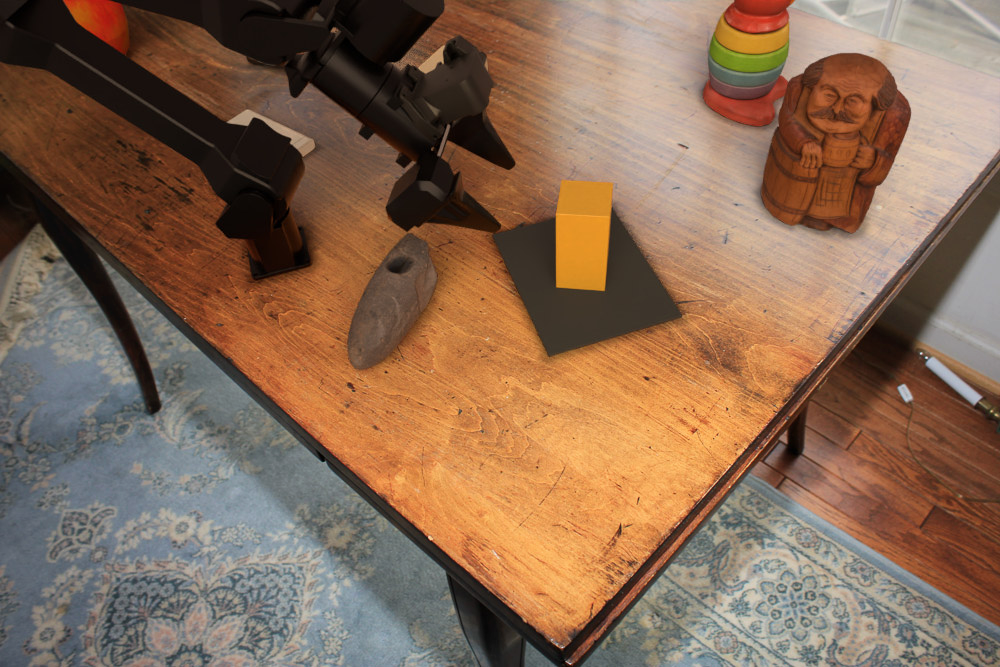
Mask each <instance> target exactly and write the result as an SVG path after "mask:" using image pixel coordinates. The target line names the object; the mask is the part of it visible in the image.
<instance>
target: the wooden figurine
mask: <svg viewBox="0 0 1000 667" xmlns="http://www.w3.org/2000/svg"><path fill="white" fill-rule="evenodd" d="M911 118H912V107H911V104H910V103H909V100H908V99H907V97H906V96H905V95H904V94H903V93H902V92H901V91H900V90H899V89H898V85H897V82H896V79H895V76H894V75H893V74H892V71H890V70H889V69H888V67H887V66H886V65H885V64H884V63H882V61H880V60H879V59H877V58H875V57H873V56H870V55H867V54H864V53H860V52H839V53H838V52H837V53H834V54H831V55H826V56H825V57H822V58H819V59H817V60H816V61H814V62H812V63H810V64H808V65H807V66H806V68H805V69H804V71H803V72H801V73H799V74H797V75H795V76H792V77H791V78H790V79H789V81H788V85H787V88H786V92H785V96H783V100H782V103H781V106H780V108H779V111H778V115H777V123H778V126H777V127H776V128H775V130H774V131H773V134H772V137H771V141H770V144H769V149H768V153H767V156H766V160H765V161H766V162H765V165H764V169H763V173H762V174H763V176H762V182H761V188H760V195H761V198H762V202H763V204H764V207H765V209H766V210H768V212H769V213H770V214H771V216H773V217H774V218H776V219H777V220H779V221H781V222H782V223H785V224H786V225H789V226H797V225H802V226H805V227H807V228H809V229H816V230H819V231H823V232H827V231H830V230H831V229H833V228H838V229H841V230H842V231H845V232H847V233H850V234H854V233H855V232H856V231H858V230H859V229H860V227H861V226H862V225H863V223H864V222H865V218H866V215H867V213H868V211H869V209H870V207H871V205H872V203H873V199H874V196H875V192H876V190H877V187H878V186H881V185H882V184H883V183H884V182H885V181H886V179H887V177H888V175H889V174H890V171H891V169H892V167H893V165H894V163H895V161H896V157H897V155H898V153H899V150H900V149H901V147H902V143H903V141H904V139H905V136H906V134H907V131H908V129H909V125H910V122H911Z"/></svg>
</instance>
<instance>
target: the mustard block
mask: <svg viewBox="0 0 1000 667" xmlns="http://www.w3.org/2000/svg"><path fill="white" fill-rule="evenodd" d="M613 194H614V182H612V181H611V182H608V181H592V180H591V181H590V180H589V181H588V180H573V179H572V180H571V179H570V180H569V179H561V181H560V187H559V191H558V199H557V203H556V211H555V218H556V287H557V288H570V289H584V290H597V291H605V284H606V274H607V263H608V251H609V237H610V223H611V209H612V208H613Z"/></svg>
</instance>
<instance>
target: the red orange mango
mask: <svg viewBox="0 0 1000 667" xmlns="http://www.w3.org/2000/svg"><path fill="white" fill-rule="evenodd" d="M63 1H64V2H65V4H66V5H67V7H68V9H69V10H70V12H71V14H72V15H73V17H74V18H75V20H76V21H77V23H79V24H80V25H81V26H82V27H84V28H85V29H87V30H88V31H90V32H91V33H93V34H94V35H96V36H97V37H99V38H100V39H102V40H103V41H105V42H106V43H108V44H109V45H111V46H112V47H114V48H115V49H117V50H118V51H120V52H121V53H123V54H124V55H126V56H127V53H128V51H129V49H130V47H131V43H130V33H129V23H128V22H129V21H128V18H127V15H126V13H125V10H124V7H123V4H120V3H116V2H113V1H109V0H63Z"/></svg>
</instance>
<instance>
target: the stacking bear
mask: <svg viewBox="0 0 1000 667" xmlns="http://www.w3.org/2000/svg"><path fill="white" fill-rule="evenodd" d="M795 1H796V0H733V2H732V3H731V4H730V5H728V7H727V8H726V9H725V10H724V11H723V12H722V14H721V15H720V17H719V19H718V21H717V22H716V26H715V29H714V31H713V33H712V36H711V39H710V43H709V47H708V52H707V67H708V80H707V82H706V83H705V85H704V88H703V91H702V96H703V97H702V98H703V100H704V102H705V104H706V105H707V106H708V107H709V108H711V109H712V110H713V111H715V112H716V113H718V114H720V115H721V116H723V117H725V118H727V119H728V120H732V121H734V122H738V123H740V124H745V125H748V126H754V127H763V126H767V125H770V124H771V123H772V122H773V120H774V119H775V118H776V110H775V109H776V108H775V106H774V103H775V102H776V101H777V100H779V99H781V98H784V96H785V92H786V88H787V85H788V82H789V81H788V80H787V78H786V77H785V76H783V75H781V74H782V72H783V70H784V67H785V65H786V62H787V59H788V56H789V51H790V13H789V11H788V9H787V8H789V7H790V6H792V5H793V4H794V3H795Z"/></svg>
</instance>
